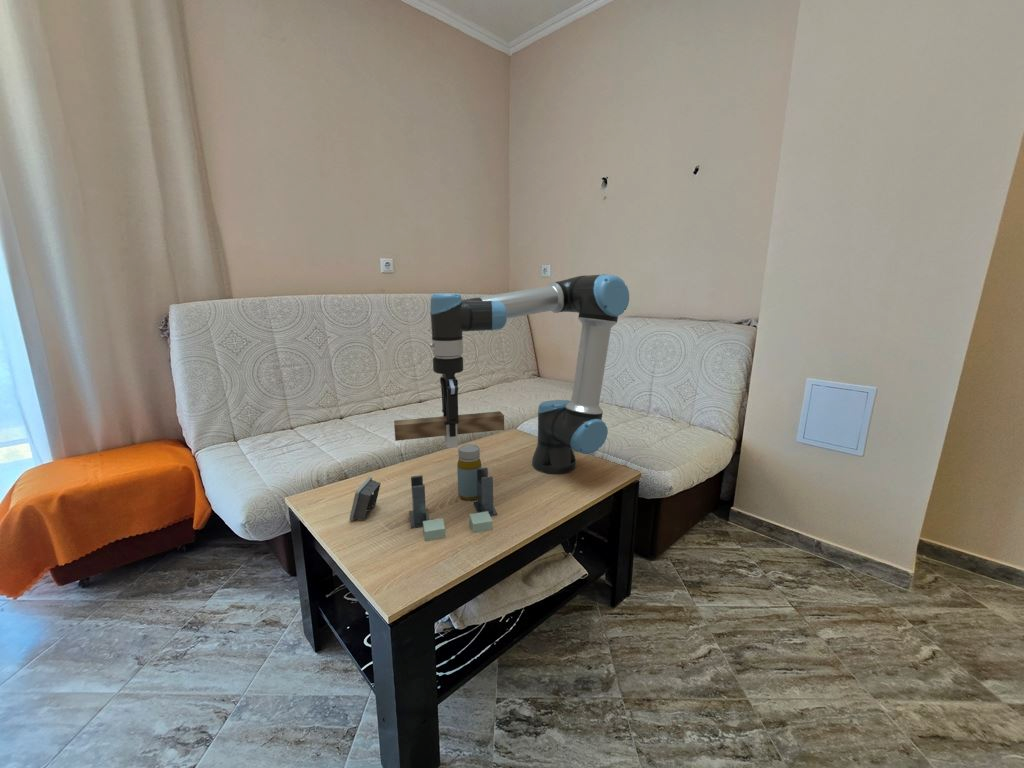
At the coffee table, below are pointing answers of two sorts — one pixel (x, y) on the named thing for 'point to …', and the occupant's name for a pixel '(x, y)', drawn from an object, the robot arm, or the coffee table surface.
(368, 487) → the electrical switch
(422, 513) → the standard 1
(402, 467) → the coffee table surface
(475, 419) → the rail
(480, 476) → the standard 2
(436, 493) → the coffee table surface
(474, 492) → the bottle
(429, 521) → the blocks
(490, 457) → the coffee table surface
